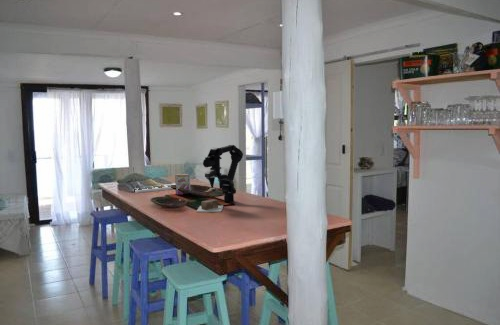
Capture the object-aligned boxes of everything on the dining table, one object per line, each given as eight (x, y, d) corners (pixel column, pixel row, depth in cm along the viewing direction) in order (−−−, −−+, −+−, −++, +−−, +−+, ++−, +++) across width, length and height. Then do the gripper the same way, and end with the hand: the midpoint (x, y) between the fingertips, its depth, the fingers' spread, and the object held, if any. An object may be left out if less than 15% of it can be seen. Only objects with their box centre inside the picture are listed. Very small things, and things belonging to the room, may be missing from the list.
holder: (136, 193, 327) (135, 190, 326) (131, 190, 342) (130, 187, 342) (186, 188, 349) (186, 185, 349) (179, 185, 364) (179, 182, 364)
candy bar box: (175, 194, 315) (174, 174, 313) (177, 193, 320) (176, 173, 318) (189, 194, 314) (188, 174, 312) (190, 193, 319) (190, 173, 317)
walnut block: (213, 199, 264) (201, 201, 258) (217, 200, 261) (205, 202, 254) (213, 206, 265) (201, 208, 258) (218, 207, 261) (206, 210, 254)
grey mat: (223, 206, 268) (223, 205, 267) (221, 211, 252) (221, 210, 252) (200, 206, 268) (200, 205, 268) (196, 212, 252) (196, 211, 252)
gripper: (198, 166, 271) (199, 188, 273) (215, 168, 258) (215, 191, 259) (210, 164, 279) (211, 186, 280) (228, 166, 265) (228, 189, 267)
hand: (216, 188), depth 271 cm, fingers open, 9 cm apart
